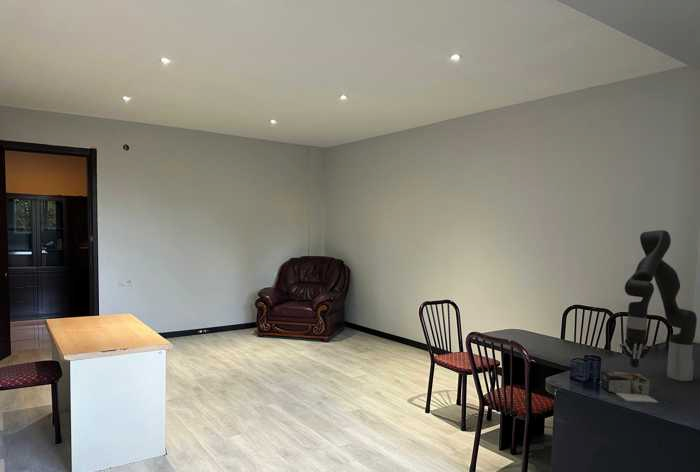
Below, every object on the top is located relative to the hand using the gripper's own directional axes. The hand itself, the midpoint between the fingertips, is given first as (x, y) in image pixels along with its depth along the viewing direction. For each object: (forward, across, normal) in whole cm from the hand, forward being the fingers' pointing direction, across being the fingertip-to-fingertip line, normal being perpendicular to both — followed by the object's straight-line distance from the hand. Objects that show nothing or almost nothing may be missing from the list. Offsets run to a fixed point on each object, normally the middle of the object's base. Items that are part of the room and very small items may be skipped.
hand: (634, 367), depth 206 cm
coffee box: (+7, -5, 0) cm, 9 cm away
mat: (+11, +2, 0) cm, 11 cm away
